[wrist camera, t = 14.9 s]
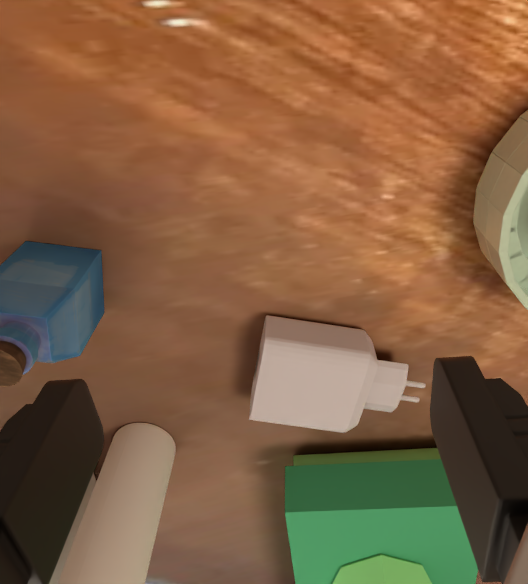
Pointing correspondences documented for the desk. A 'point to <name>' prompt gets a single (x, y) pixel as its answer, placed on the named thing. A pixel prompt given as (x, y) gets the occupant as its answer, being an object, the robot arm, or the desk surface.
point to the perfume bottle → (47, 305)
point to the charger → (322, 376)
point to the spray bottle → (123, 509)
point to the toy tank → (375, 520)
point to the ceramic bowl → (506, 209)
